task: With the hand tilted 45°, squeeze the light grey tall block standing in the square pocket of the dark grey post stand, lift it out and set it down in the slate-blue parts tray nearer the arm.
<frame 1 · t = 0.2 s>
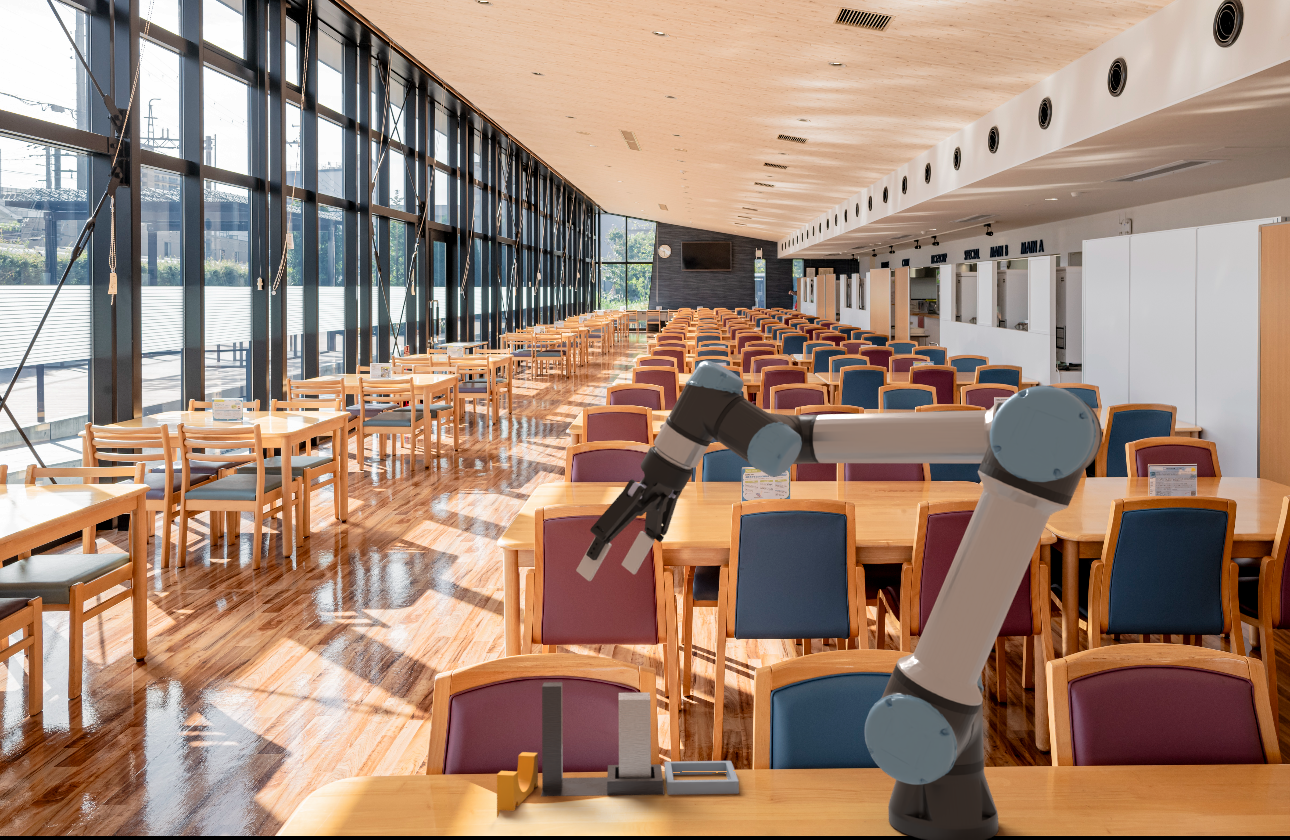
hand: (606, 572, 157), 35 cm above the table, tool tilted 35°, fingers open, 13 cm apart
light grey tall block: (634, 785, 160), point 1 cm above the table, touching dark grey post stand
parts tray: (700, 790, 161), on the table
pipe clamp: (512, 807, 155), on the table
dark grey post stand: (603, 793, 160), on the table
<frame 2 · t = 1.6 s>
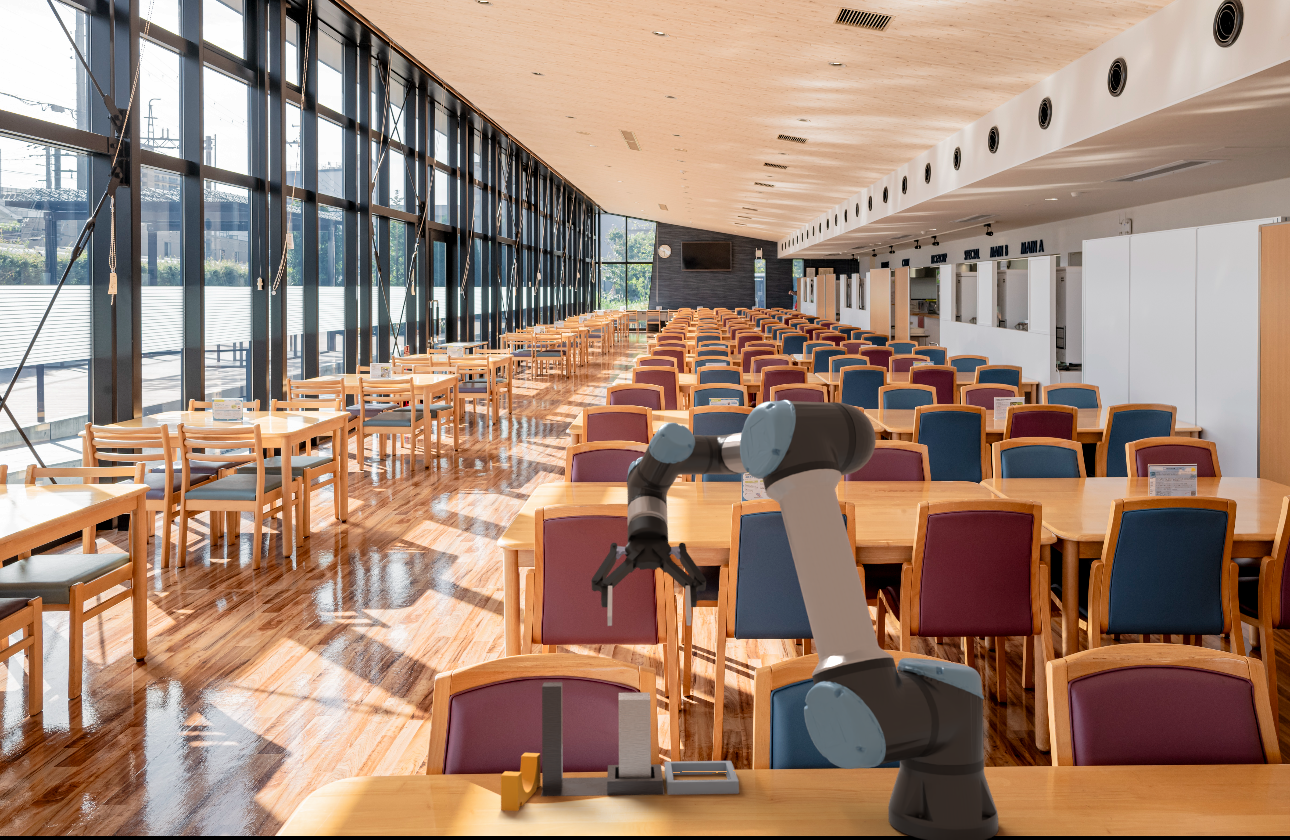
hand: (649, 621, 173), 25 cm above the table, tool tilted 45°, fingers open, 13 cm apart
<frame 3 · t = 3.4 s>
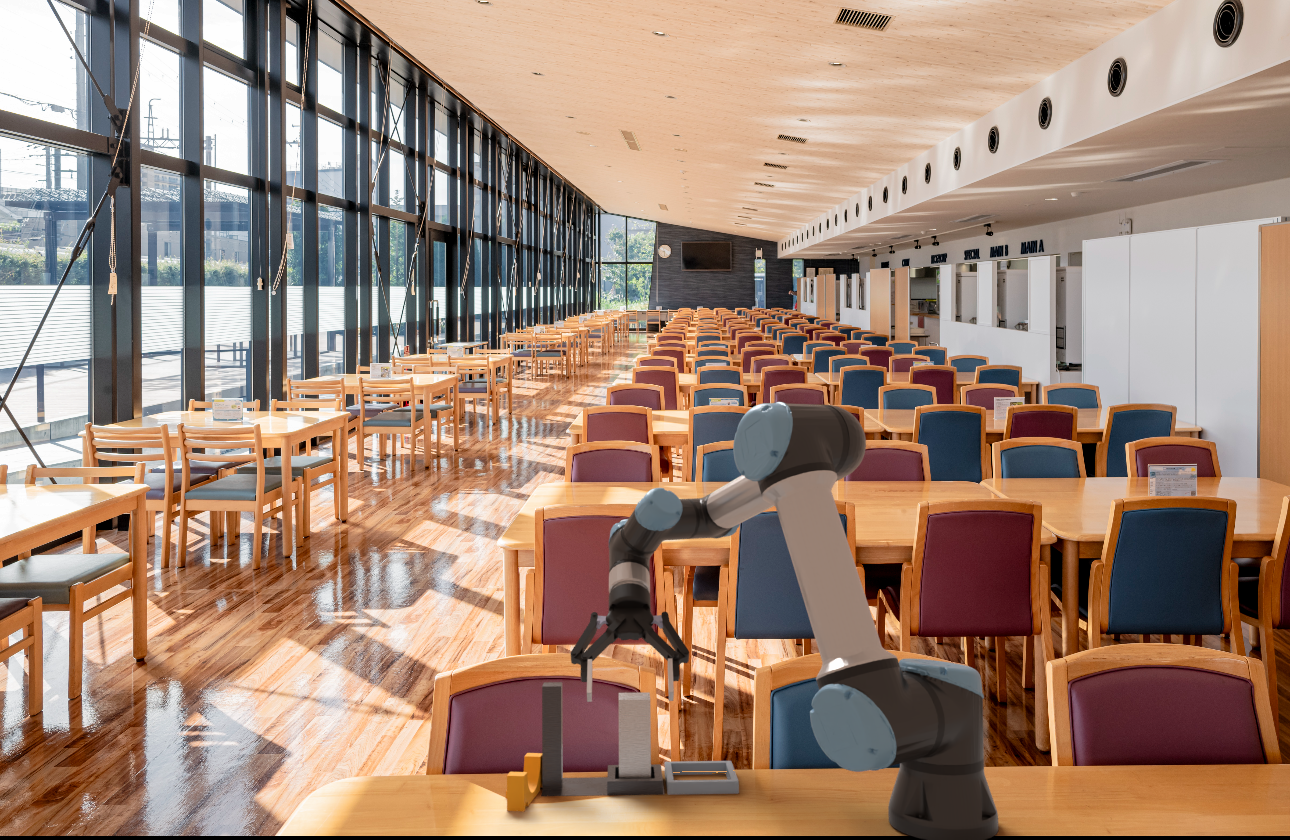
hand: (630, 697, 168), 14 cm above the table, tool tilted 45°, fingers open, 13 cm apart
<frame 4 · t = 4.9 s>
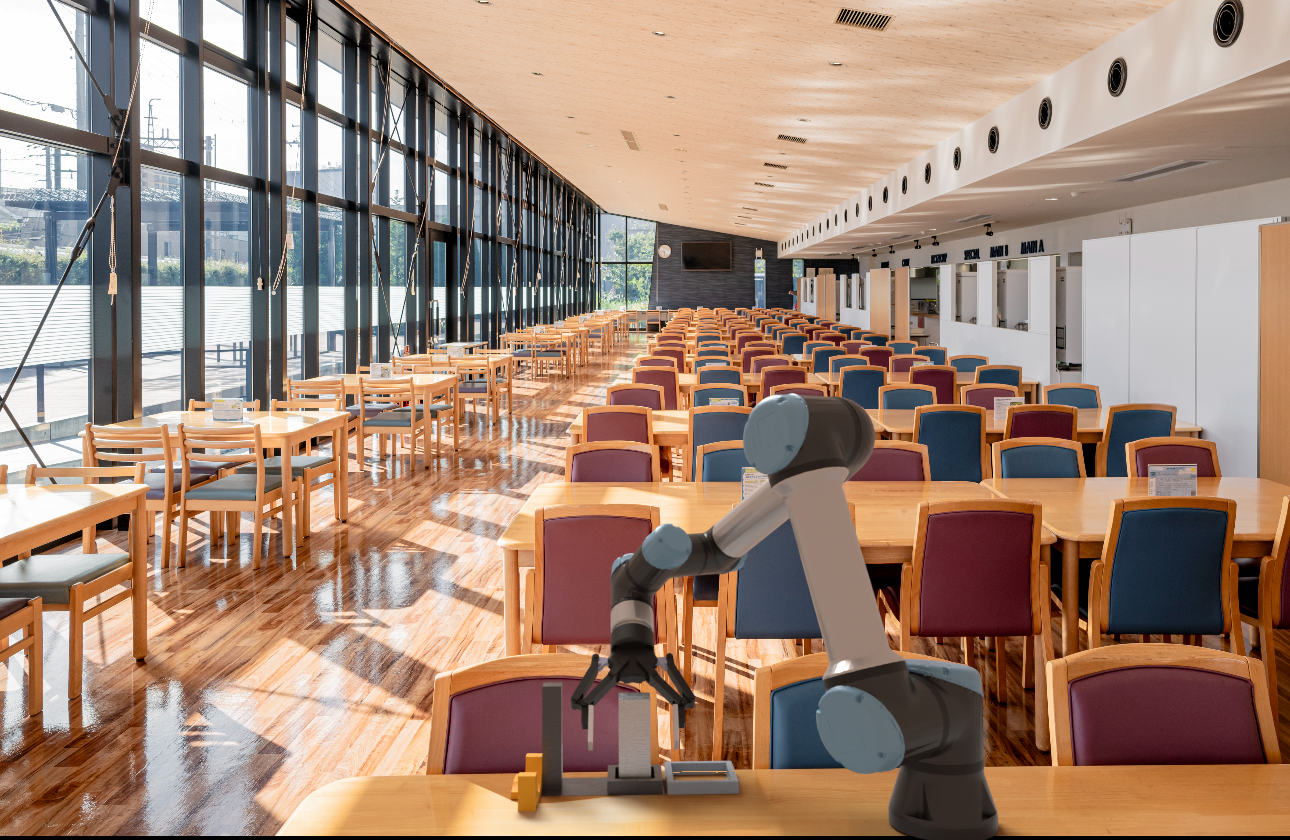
hand: (633, 746, 159), 8 cm above the table, tool tilted 45°, fingers open, 13 cm apart
pipe clamp: (525, 808, 155), on the table, touching dark grey post stand
everything else where it was.
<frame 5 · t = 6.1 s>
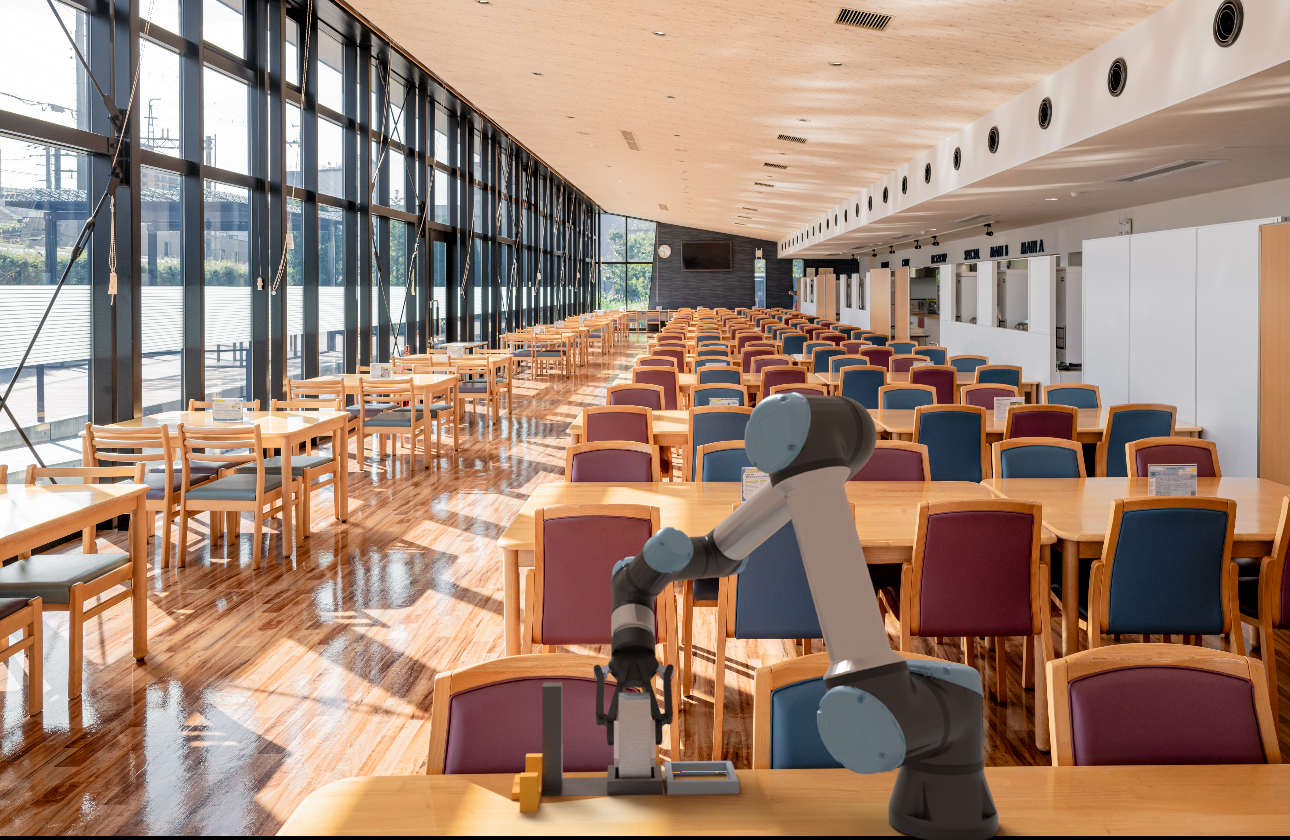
hand: (635, 762, 157), 6 cm above the table, tool tilted 45°, fingers closed on light grey tall block, 5 cm apart
light grey tall block: (634, 785, 160), point 1 cm above the table, touching gripper, dark grey post stand
pipe clamp: (526, 808, 154), on the table
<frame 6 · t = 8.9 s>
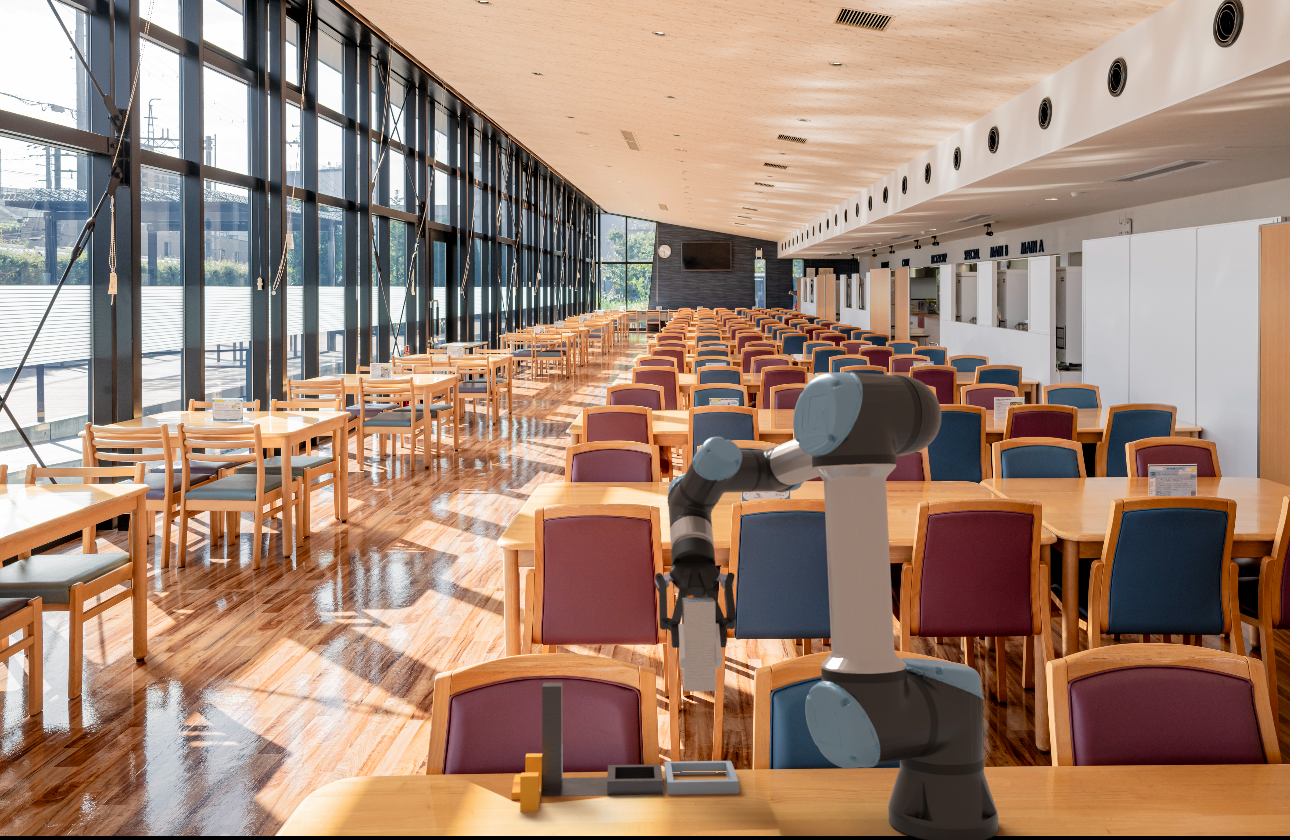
hand: (700, 662, 159), 21 cm above the table, tool tilted 45°, fingers closed on light grey tall block, 5 cm apart
light grey tall block: (699, 687, 162), point 16 cm above the table, touching gripper
everything else where it was.
when the fingers open (7 cm above the table, at t = 11.6 s): light grey tall block drops 1 cm, resting on parts tray.
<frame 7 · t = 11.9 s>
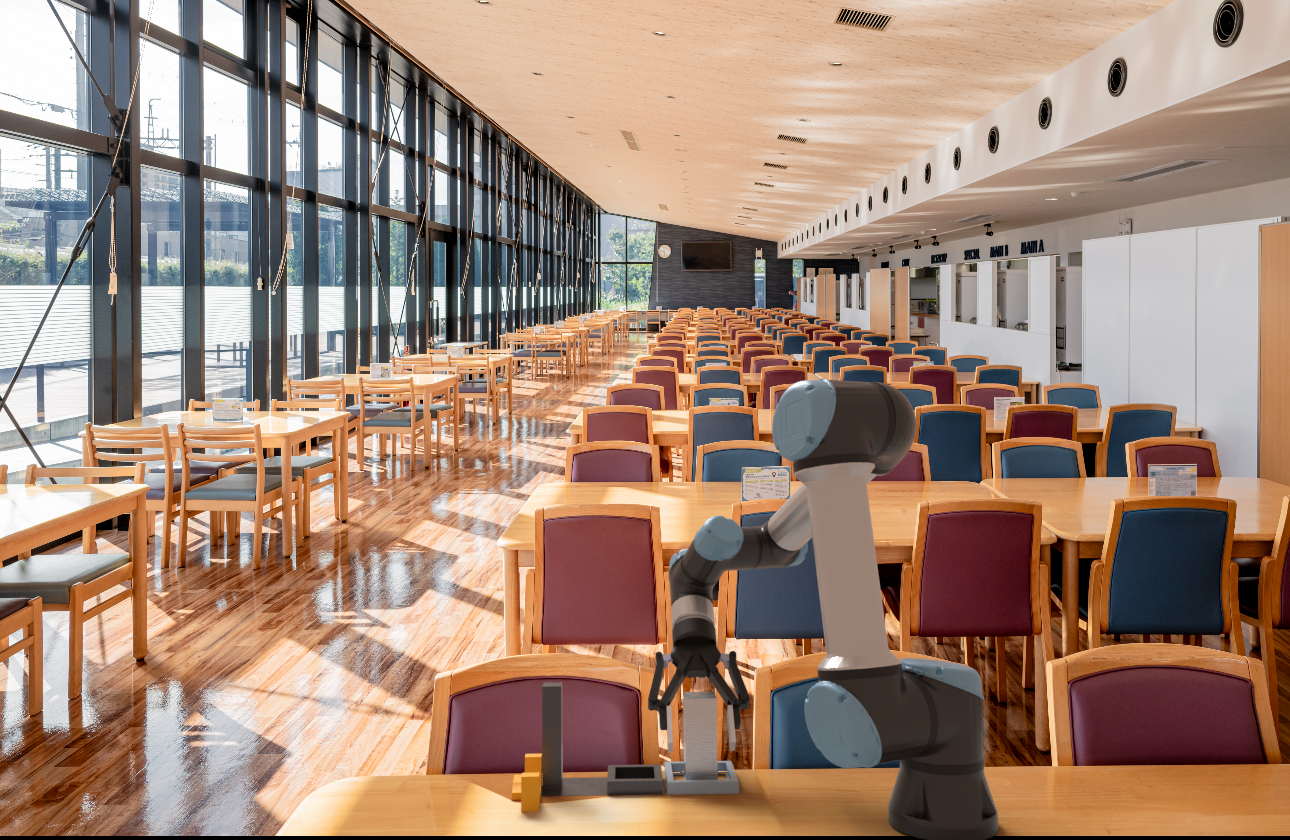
hand: (701, 746, 159), 8 cm above the table, tool tilted 45°, fingers open, 9 cm apart
light grey tall block: (700, 783, 162), point 1 cm above the table, touching parts tray
everything else where it was.
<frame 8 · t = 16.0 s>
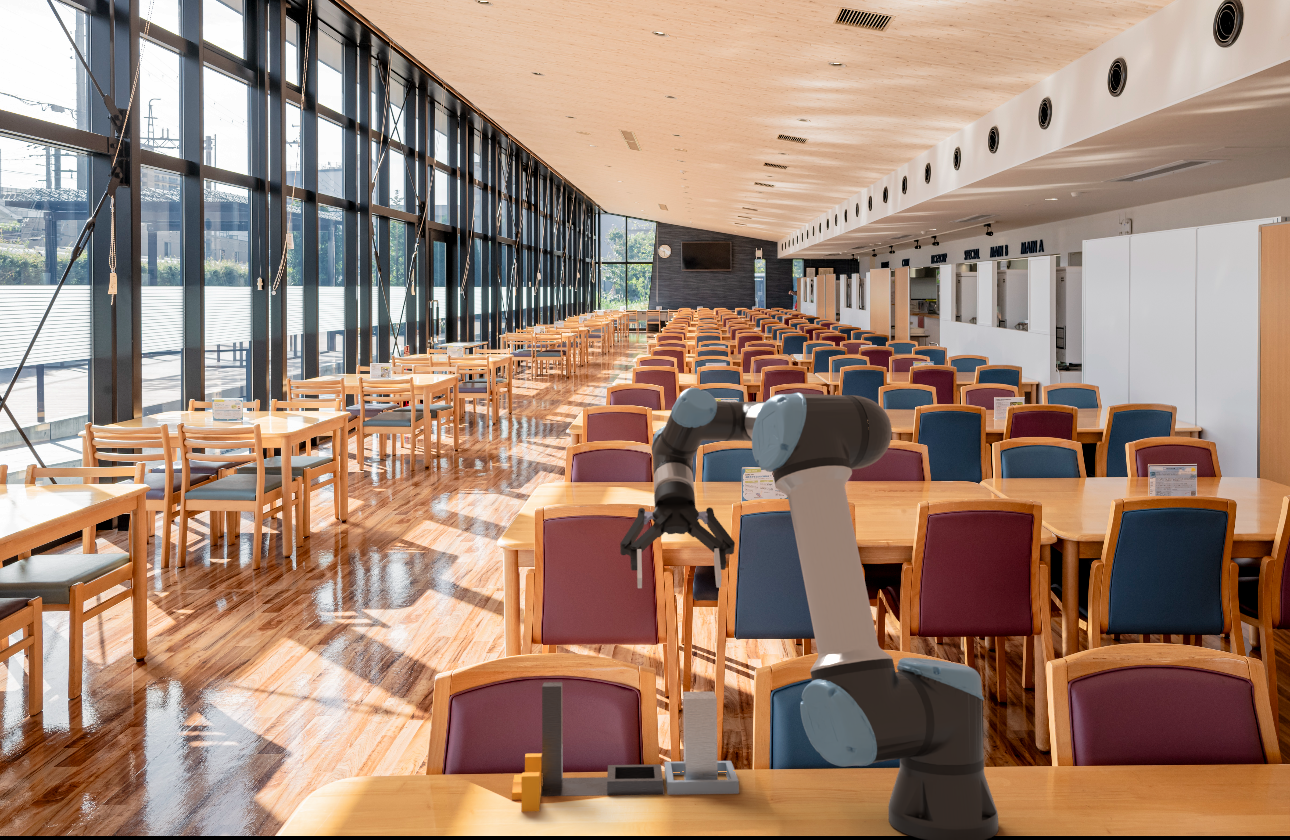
hand: (679, 583, 173), 32 cm above the table, tool tilted 45°, fingers open, 13 cm apart
pipe clamp: (526, 808, 154), on the table, touching dark grey post stand
everything else where it was.
at the end: light grey tall block inside the target area on the parts tray (0.1 cm from its centre), point 1.0 cm above the parts tray's base; light grey tall block moved 10.6 cm from its start; the gripper is holding nothing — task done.
